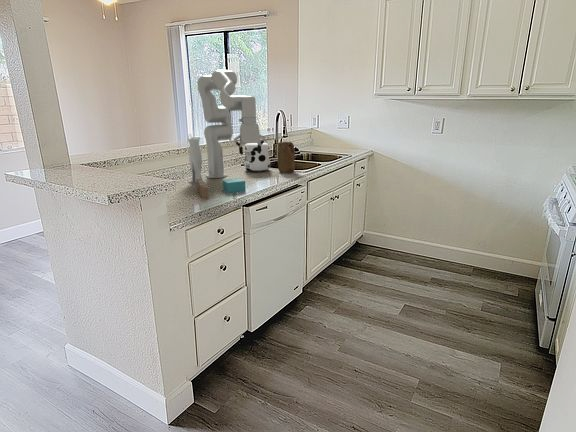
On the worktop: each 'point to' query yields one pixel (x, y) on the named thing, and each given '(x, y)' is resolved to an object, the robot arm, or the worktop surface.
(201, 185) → the walnut board
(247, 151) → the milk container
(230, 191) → the teal block
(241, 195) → the worktop surface
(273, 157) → the worktop surface
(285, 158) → the block
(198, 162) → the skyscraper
